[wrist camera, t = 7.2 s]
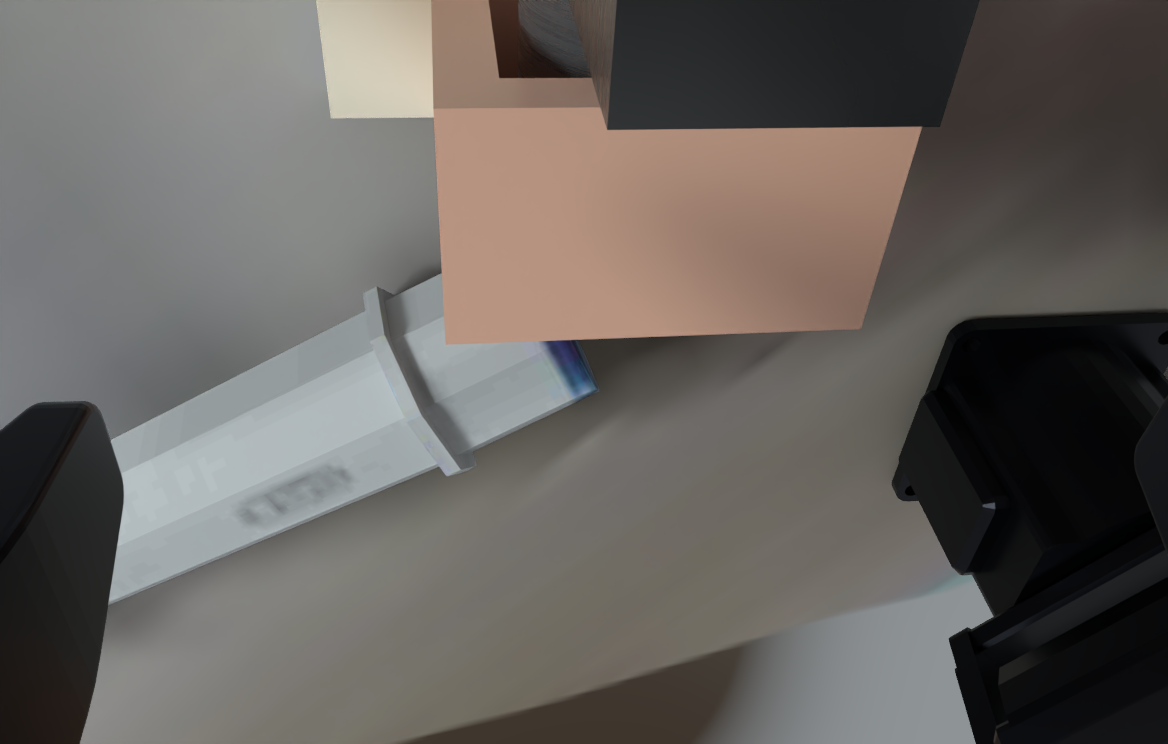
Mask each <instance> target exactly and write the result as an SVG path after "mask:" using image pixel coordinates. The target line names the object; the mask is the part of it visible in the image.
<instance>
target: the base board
mask: <svg viewBox="0 0 1168 744" xmlns="http://www.w3.org/2000/svg"><path fill="white" fill-rule="evenodd" d="M316 3H317V11H318V19H319V27H320V35H321V42H322V50H323V58H324V66H325V74H326V82H327V90H328V98H329V106H330V114H331V118H420V117H434V112H433V67H432V16H431V0H316Z"/></svg>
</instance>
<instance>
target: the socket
mask: <svg viewBox="0 0 1168 744" xmlns="http://www.w3.org/2000/svg"><path fill="white" fill-rule="evenodd" d="M518 6H519V0H431V16H432V67H433V112H434V131H435V150H436V170H437V189H438V208H439V227H440V247H441V266H442V285H443V304H444V323H445V343H446V345H451V344H478V343H504V342H530V341H557V340H583V339H609V338H635V337H662V336H688V335H714V334H741V333H767V332H793V331H819V330H846V329H861V327H862V324H863V320H864V317H865V314H866V311H867V307H868V304H869V301H870V297H871V294H872V291H873V288H874V284H875V281H876V278H877V274H878V271H879V268H880V264H881V261H882V258H883V255H884V251H885V248H886V245H887V241H888V238H889V235H890V231H891V228H892V225H893V222H894V218H895V215H896V212H897V208H898V205H899V202H900V198H901V195H902V192H903V189H904V185H905V182H906V179H907V175H908V172H909V169H910V166H911V162H912V159H913V156H914V152H915V149H916V146H917V142H918V139H919V136H920V133H921V129H922V127H847V128H752V129H657V130H607V128H606V124H605V121H604V118H603V114H602V111H601V108H600V104H599V101H598V98H597V94H596V91H595V88H594V84H593V81H592V78H518Z"/></svg>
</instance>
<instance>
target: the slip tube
mask: <svg viewBox="0 0 1168 744" xmlns="http://www.w3.org/2000/svg"><path fill="white" fill-rule="evenodd" d="M978 3H979V0H519V6H518V78H592V81H593V84H594V88H595V91H596V94H597V98H598V101H599V104H600V108H601V111H602V114H603V118H604V121H605V124H606V128H607V130H657V129H752V128H847V127H940V124H941V121H942V117H943V114H944V111H945V108H946V105H947V102H948V98H949V95H950V92H951V89H952V86H953V83H954V79H955V76H956V73H957V70H958V67H959V64H960V60H961V57H962V54H963V51H964V48H965V45H966V41H967V38H968V35H969V32H970V29H971V26H972V22H973V19H974V16H975V13H976V10H977V7H978Z"/></svg>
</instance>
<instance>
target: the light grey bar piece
mask: <svg viewBox="0 0 1168 744" xmlns="http://www.w3.org/2000/svg"><path fill="white" fill-rule="evenodd" d="M363 299H364V306H365V311H364V312H362V313H360V314H358V315H356V316H354V317H352V318H350V319H348V320H346V321H344V322H342V323H340V324H338V325H336V326H334V327H332V328H330V329H328V330H326V331H324V332H322V333H320V334H318V335H316V336H314V337H312V338H310V339H308V340H307V341H305V342H303V343H301V344H299V345H297V346H295V347H293V348H291V349H289V350H287V351H285V352H283V353H281V354H279V355H277V356H275V357H273V358H271V359H269V360H267V361H265V362H263V363H261V364H259V365H257V366H255V367H253V368H252V369H250V370H248V371H246V372H244V373H242V374H240V375H238V376H236V377H234V378H232V379H230V380H228V381H226V382H224V383H222V384H220V385H218V386H216V387H214V388H212V389H210V390H208V391H206V392H204V393H202V394H200V395H198V396H196V397H195V398H193V399H191V400H189V401H187V402H185V403H183V404H181V405H179V406H177V407H175V408H173V409H171V410H169V411H167V412H165V413H163V414H161V415H159V416H157V417H155V418H153V419H151V420H149V421H147V422H145V423H143V424H141V425H139V426H138V427H136V428H134V429H132V430H130V431H128V432H126V433H124V434H122V435H120V436H118V437H116V438H114V439H112V440H111V443H112V446H113V449H114V453H115V456H116V459H117V462H118V465H119V468H120V471H121V474H122V478H123V485H124V505H123V512H122V519H121V525H120V532H119V538H118V545H117V551H116V558H115V564H114V571H113V577H112V584H111V590H110V597H109V603H108V605H110V604H112V603H115V602H117V601H120V600H122V599H124V598H127V597H129V596H131V595H134V594H136V593H139V592H141V591H143V590H146V589H148V588H151V587H153V586H155V585H158V584H160V583H163V582H165V581H167V580H170V579H172V578H174V577H177V576H179V575H182V574H184V573H186V572H189V571H191V570H194V569H196V568H198V567H201V566H203V565H205V564H208V563H210V562H213V561H215V560H217V559H220V558H222V557H225V556H227V555H229V554H232V553H234V552H236V551H239V550H241V549H244V548H246V547H248V546H251V545H253V544H256V543H258V542H260V541H263V540H265V539H267V538H270V537H272V536H275V535H277V534H279V533H282V532H284V531H287V530H289V529H291V528H294V527H296V526H299V525H301V524H303V523H306V522H308V521H310V520H313V519H315V518H318V517H320V516H322V515H325V514H327V513H330V512H332V511H334V510H337V509H339V508H341V507H344V506H346V505H349V504H351V503H353V502H356V501H358V500H361V499H363V498H365V497H368V496H370V495H372V494H375V493H377V492H380V491H382V490H384V489H387V488H389V487H392V486H394V485H396V484H399V483H401V482H403V481H406V480H408V479H411V478H413V477H415V476H418V475H420V474H423V473H425V472H427V471H430V470H432V469H435V468H437V467H440V468H441V469H442V471H443V472H444V473H445V475H446V476H451V475H455V474H459V473H462V472H465V471H467V470H469V469H471V468H473V467H476V462H475V458H474V453H473V451H475V450H477V449H479V448H481V447H483V446H485V445H487V444H489V443H492V442H494V441H496V440H498V439H500V438H502V437H504V436H506V435H508V434H510V433H512V432H515V431H517V430H519V429H521V428H523V427H525V426H527V425H529V424H531V423H533V422H535V421H538V420H540V419H542V418H544V417H546V416H548V415H550V414H552V413H554V412H556V411H558V410H561V409H563V408H565V407H567V406H569V405H571V404H573V403H575V402H577V401H579V400H581V399H584V398H586V397H588V396H590V395H592V394H594V393H596V392H598V391H600V389H599V387H598V384H597V382H596V380H595V377H594V375H593V373H592V370H591V368H590V366H589V363H588V361H587V359H586V356H585V354H584V351H583V349H582V347H581V345H580V343H579V341H578V340H557V341H530V342H504V343H478V344H451V345H446V343H445V323H444V304H443V285H442V273H441V274H439V275H437V276H435V277H433V278H431V279H429V280H427V281H425V282H423V283H421V284H418V285H416V286H414V287H412V288H410V289H408V290H406V291H404V292H402V293H400V294H398V295H396V296H395V295H393V294H391V293H389V292H387V291H385V290H383V289H381V288H379V287H374V288H372V289H370V290H368V291H366V292H364V293H363Z"/></svg>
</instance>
